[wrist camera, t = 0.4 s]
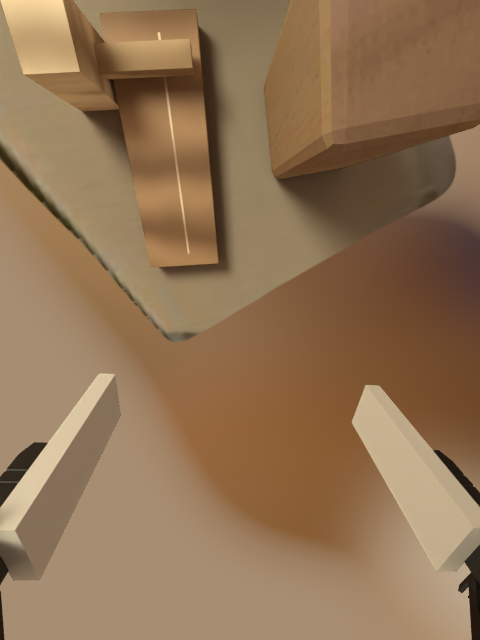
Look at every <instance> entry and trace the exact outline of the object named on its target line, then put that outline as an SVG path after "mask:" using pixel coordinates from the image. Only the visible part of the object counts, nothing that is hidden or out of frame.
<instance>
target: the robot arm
mask: <svg viewBox="0 0 480 640" xmlns="http://www.w3.org/2000/svg"><path fill="white" fill-rule="evenodd" d="M120 416H121V412H120V405H119V398H118V391H117V384H116V377H115V374H99V375H98V376H97V377H96V379H95V380H94V381H93V383H92V384H91V386H90V387H89V388H88V389H87V391H86V392H85V393H84V395H83V396H82V398H81V399H80V401H79V402H78V403H77V404H76V406H75V407H74V408H73V410H72V411H71V412H70V414H69V415H68V417H67V418H66V419H65V421H64V422H63V423H62V425H61V426H60V427H59V429H58V430H57V431H56V433H55V434H54V435H53V437H52V438H51V440H50V441H49V442H48V443H33V444H32V445H30V446H29V447H28V448H26V449H25V450H24V451H22V452H21V453H20V454H19V455H18V456H17V457H16V458H15V460H14V461H13V462H12V463H11V464H10V466H9V467H8V468H7V471H6V472H4V473H3V474H2V475H1V477H0V584H1V582H2V581H3V579H4V578H5V576H6V574H7V573H8V572H9V574H10V576H11V577H12V579H13V580H40V579H41V577H42V575H43V573H44V571H45V569H46V567H47V565H48V563H49V561H50V559H51V556H52V555H53V553H54V550H55V548H56V546H57V544H58V542H59V540H60V538H61V536H62V534H63V532H64V530H65V528H66V526H67V524H68V522H69V520H70V518H71V516H72V514H73V512H74V510H75V508H76V506H77V504H78V502H79V500H80V498H81V496H82V494H83V491H84V489H85V487H86V485H87V483H88V481H89V479H90V477H91V475H92V473H93V471H94V469H95V467H96V465H97V463H98V461H99V459H100V457H101V455H102V453H103V451H104V449H105V447H106V445H107V443H108V441H109V439H110V437H111V435H112V433H113V431H114V428H115V427H116V424H117V422H118V420H119V418H120ZM352 423H353V425H354V427H355V429H356V431H357V432H358V434H359V436H360V438H361V440H362V441H363V443H364V445H365V447H366V448H367V450H368V452H369V454H370V456H371V457H372V459H373V461H374V463H375V464H376V466H377V468H378V470H379V471H380V473H381V475H382V477H383V478H384V480H385V482H386V484H387V486H388V487H389V489H390V491H391V492H392V494H393V496H394V498H395V500H396V501H397V503H398V505H399V507H400V509H401V510H402V512H403V514H404V516H405V517H406V519H407V521H408V523H409V524H410V526H411V528H412V530H413V531H414V533H415V535H416V537H417V538H418V540H419V542H420V544H421V546H422V547H423V549H424V551H425V553H426V554H427V556H428V558H429V560H430V562H431V563H432V565H433V567H434V569H435V570H436V572H444V571H457V570H458V569H459V568H460V567H461V566H462V565H463V563H464V562H465V563H466V565H467V566H468V568H469V569H470V571H471V573H470V574H469V575H468V576H467V577H466V579H464V581H463V582H462V583H461V584H460V585H459V589H458V591H460V592H461V593H463V592H464V591H465V590H466V589H467V588H468V587H469V596H468V598H469V599H470V616H471V633H472V640H480V493H479V491H478V490H477V489H476V488H475V487H473V484H472V483H471V482H470V481H469V480H468V478H467V477H465V476H464V475H463V473H462V472H461V470H460V469H459V468H458V467H457V466H456V465H455V463H454V462H453V461H451V460H450V459H449V458H448V457H447V456H445V455H444V454H443V453H442V452H440V451H439V450H432V449H431V448H430V446H429V445H428V444H427V443H426V442H425V441H424V439H423V438H422V437H421V436H420V435H419V433H418V432H417V431H416V430H415V428H414V427H413V426H412V425H411V423H410V422H409V421H408V420H407V419H406V417H405V416H404V415H403V414H402V413H401V411H400V410H399V409H398V408H397V407H396V405H395V404H394V403H393V402H392V401H391V399H390V398H389V397H388V396H387V395H386V393H385V392H384V391H383V390H382V388H381V387H380V386H376V385H366V386H365V388H364V391H363V394H362V396H361V399H360V402H359V404H358V407H357V410H356V413H355V415H354V418H353V420H352ZM0 640H4V629H3V616H2V602H1V592H0Z"/></svg>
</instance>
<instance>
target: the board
mask: <svg viewBox="0 0 480 640" xmlns="http://www.w3.org/2000/svg"><path fill="white" fill-rule="evenodd" d="M100 18H101V23H102V28H103V33H104V38H105V43H110V42H131V41H152V40H173V39H190V43H191V47H192V56H193V66H194V75H185V76H165V77H145V78H125V79H113V82H114V87H115V92H116V97H117V102H118V107H119V112H120V117H121V122H122V127H123V132H124V137H125V142H126V147H127V152H128V157H129V162H130V167H131V172H132V177H133V182H134V187H135V192H136V196H137V201H138V206H139V211H140V216H141V221H142V226H143V231H144V236H145V241H146V246H147V251H148V256H149V261H150V266H151V268H152V267H168V266H183V265H199V264H215V263H218V262H219V256H218V244H217V233H216V221H215V210H214V198H213V187H212V175H211V164H210V153H209V141H208V130H207V118H206V107H205V95H204V84H203V72H202V61H201V49H200V38H199V27H198V20H197V14H196V9H182V10H158V11H134V12H110V13H100Z"/></svg>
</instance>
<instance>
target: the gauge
mask: <svg viewBox="0 0 480 640" xmlns="http://www.w3.org/2000/svg"><path fill="white" fill-rule="evenodd" d="M1 3H2V6H3V10H4V13H5V16H6V19H7V22H8V26H9V29H10V32H11V35H12V38H13V42H14V45H15V48H16V51H17V54H18V58H19V61H20V64H21V67H22V70H23V74H24V75H25V76H27V77H29V78H30V79H32V80H33V81H35V82H36V83H38V84H40V85H41V86H43V87H44V88H46V89H48V90H49V91H51V92H52V93H54V94H55V95H57V96H59V97H60V98H62V99H63V100H65V101H67V102H68V103H70V104H71V105H73V106H74V107H76V108H78V109H79V110H81V111H99V110H118V109H119V107H118V102H117V97H116V92H115V87H114V82H113V79H125V78H145V77H165V76H185V75H194V66H193V56H192V47H191V43H190V39H173V40H152V41H131V42H110V43H105V42H104V41H103V39H102V38H101V37H100V35H99V34H98V33H97V31H96V30H95V29H94V27H93V26H92V25H91V24H90V22H89V21H88V20H87V18H86V17H85V16H84V14H83V13H82V12H81V10H80V9H79V8H78V7H77V5H76V4H75V3H74V1H73V0H1Z"/></svg>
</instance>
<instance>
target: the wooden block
mask: <svg viewBox="0 0 480 640" xmlns="http://www.w3.org/2000/svg"><path fill="white" fill-rule="evenodd" d="M264 94H265V105H266V115H267V126H268V136H269V147H270V157H271V168H272V173H273V175H274V177H275V178H278V179H284V178H290V177H295V176H301V175H306V174H312V173H317V172H323V171H328V170H334V169H339V168H345V167H348V166H351V165H354V164H358V163H361V162H364V161H367V160H371V159H374V158H377V157H380V156H384V155H387V154H390V153H393V152H396V151H400V150H403V149H406V148H409V147H413V146H416V145H419V144H422V143H426V142H429V141H432V140H435V139H439V138H442V137H445V136H448V135H452V134H454V133H458V132H461V131H465V130H467V129H471V128H474V127H476V126H477V125H479V124H480V0H291V1H290V4H289V8H288V11H287V14H286V17H285V20H284V23H283V27H282V30H281V33H280V36H279V39H278V42H277V46H276V49H275V52H274V55H273V58H272V61H271V65H270V68H269V71H268V74H267V77H266V81H265V86H264Z"/></svg>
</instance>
